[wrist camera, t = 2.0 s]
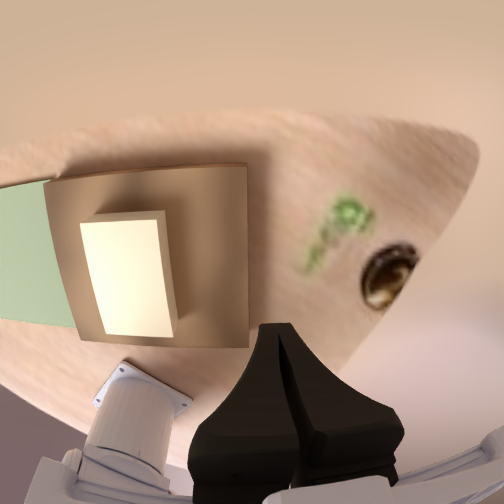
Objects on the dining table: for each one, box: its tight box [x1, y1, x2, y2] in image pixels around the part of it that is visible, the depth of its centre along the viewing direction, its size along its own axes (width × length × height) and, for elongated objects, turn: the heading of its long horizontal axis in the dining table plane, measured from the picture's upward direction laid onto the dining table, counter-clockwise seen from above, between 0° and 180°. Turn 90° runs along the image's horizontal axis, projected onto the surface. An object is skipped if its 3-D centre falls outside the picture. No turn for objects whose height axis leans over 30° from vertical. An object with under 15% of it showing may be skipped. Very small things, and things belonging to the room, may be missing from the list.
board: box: [43, 163, 249, 348], centre depth 20 cm, size 14×13×2 cm
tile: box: [80, 210, 178, 337], centre depth 19 cm, size 5×8×2 cm, turn 0°
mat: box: [0, 179, 77, 328], centre depth 21 cm, size 14×13×1 cm
